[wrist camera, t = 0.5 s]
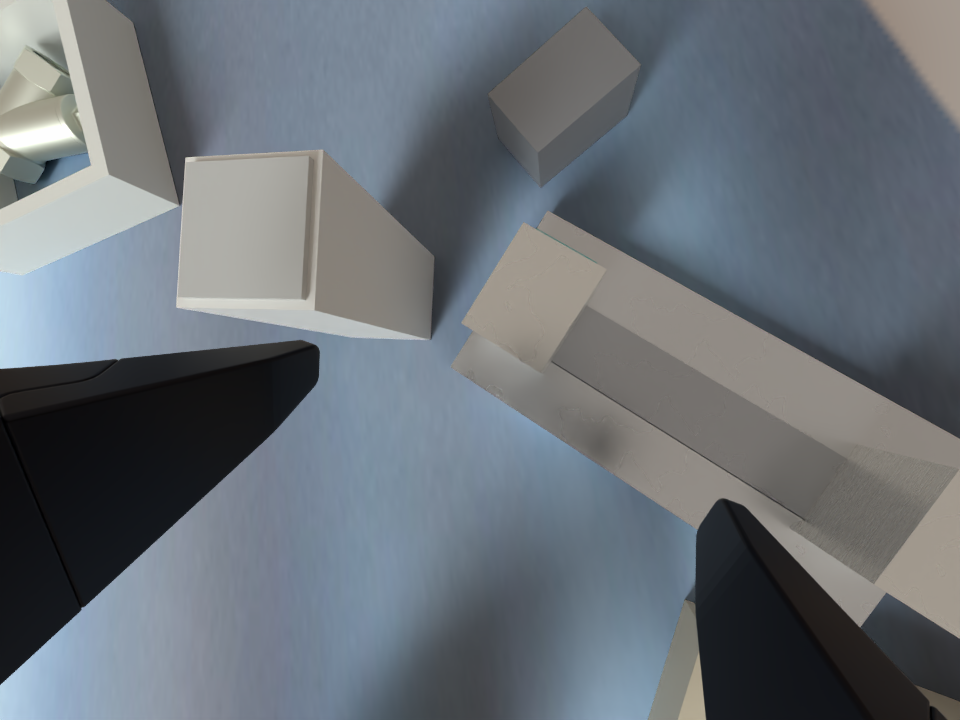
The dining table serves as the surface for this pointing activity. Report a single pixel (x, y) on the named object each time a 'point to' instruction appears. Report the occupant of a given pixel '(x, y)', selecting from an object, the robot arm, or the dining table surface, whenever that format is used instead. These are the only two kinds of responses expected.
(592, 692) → the dining table surface
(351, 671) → the dining table surface
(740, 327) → the rail plate
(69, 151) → the pipe fitting
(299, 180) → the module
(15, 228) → the parts tray
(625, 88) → the grey rectangular block
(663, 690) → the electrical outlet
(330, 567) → the dining table surface
